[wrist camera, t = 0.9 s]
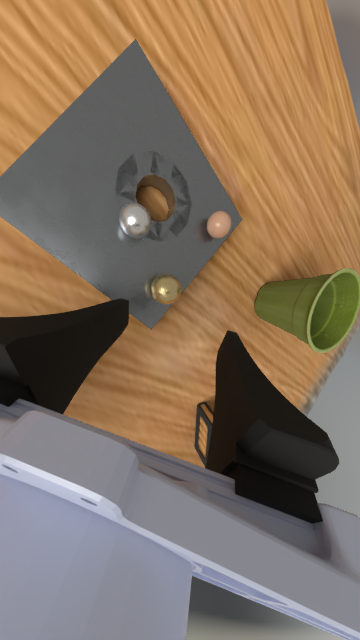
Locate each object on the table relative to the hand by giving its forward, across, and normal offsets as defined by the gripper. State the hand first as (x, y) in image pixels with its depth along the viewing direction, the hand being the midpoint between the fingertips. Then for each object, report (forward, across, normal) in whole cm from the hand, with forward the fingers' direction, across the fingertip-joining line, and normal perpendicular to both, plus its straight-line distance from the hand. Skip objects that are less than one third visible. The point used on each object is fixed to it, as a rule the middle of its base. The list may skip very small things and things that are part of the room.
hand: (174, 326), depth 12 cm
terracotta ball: (+15, -1, -6) cm, 16 cm away
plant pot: (+24, -14, +5) cm, 28 cm away
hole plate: (+13, +9, -5) cm, 17 cm away
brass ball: (+8, +3, +1) cm, 9 cm away
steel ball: (+9, +8, -5) cm, 13 cm away
